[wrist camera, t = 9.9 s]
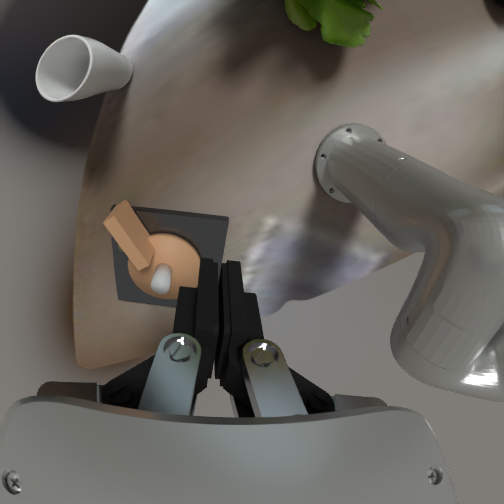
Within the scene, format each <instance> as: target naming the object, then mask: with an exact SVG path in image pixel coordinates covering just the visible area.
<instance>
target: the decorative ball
mask: <svg viewBox="0 0 504 504" xmlns="http://www.w3.org/2000/svg"><path fill="white" fill-rule="evenodd" d="M496 1H497V2H498V3H499V4H500V5H501V6H503V7H504V0H496Z"/></svg>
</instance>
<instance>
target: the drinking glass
mask: <svg viewBox="0 0 504 504" xmlns="http://www.w3.org/2000/svg"><path fill="white" fill-rule="evenodd" d="M132 74H133V65H132V62H131V61H130V59H129V58H128V57H126V56H124V55H121V54H119V53H118V52H116V51H114V50H113V49H111V48H109V47H108V46H106V45H104V44H103V43H101V42H98V41H96V40H94V39H91V38H87V37H83V36H78V35H68V36H65V37H62V38H60V39H58V40H56V41H55V42H53V43H52V44H51V45H50V46H49V47H48V48H47V49H46V51H45V52H44V54H43V55H42V57H41V59H40V61H39V63H38V66H37V70H36V85H37V88H38V91H39V92H40V94H41V95H42V96H43V97H44V98H45V99H47V100H49V101H52V102H61V101H72V100H78V99H83V98H86V97H90V96H93V95H96V94H100V93H104V92H107V91H115V90H118V89H121V88H122V87H124V86H125V85H126V84H127V83H128V82H129V80H130V79H131V77H132Z"/></svg>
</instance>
